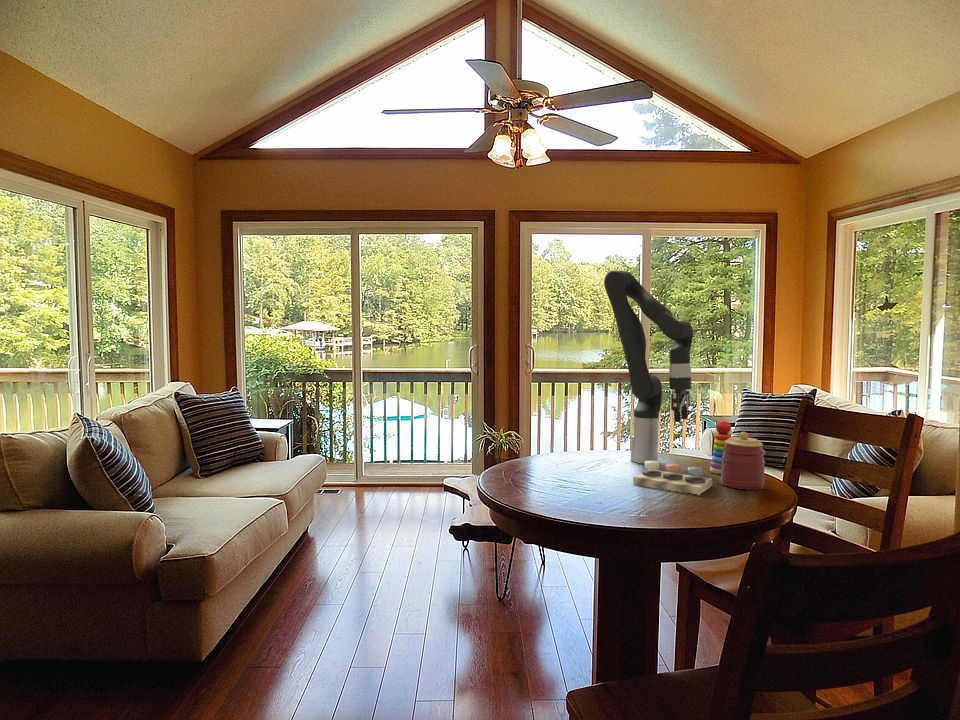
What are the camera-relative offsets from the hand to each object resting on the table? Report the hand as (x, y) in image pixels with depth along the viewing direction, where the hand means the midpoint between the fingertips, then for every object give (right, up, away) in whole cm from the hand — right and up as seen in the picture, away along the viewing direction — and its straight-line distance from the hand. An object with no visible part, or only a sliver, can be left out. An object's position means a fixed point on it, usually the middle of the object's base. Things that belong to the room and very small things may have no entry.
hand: (681, 420), depth 213 cm
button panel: (-11, -19, -23) cm, 31 cm away
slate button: (-5, -14, -27) cm, 31 cm away
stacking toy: (+13, -18, -4) cm, 23 cm away
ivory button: (-16, -14, -19) cm, 28 cm away
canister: (+12, -19, -22) cm, 32 cm away
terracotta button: (-10, -14, -23) cm, 29 cm away
